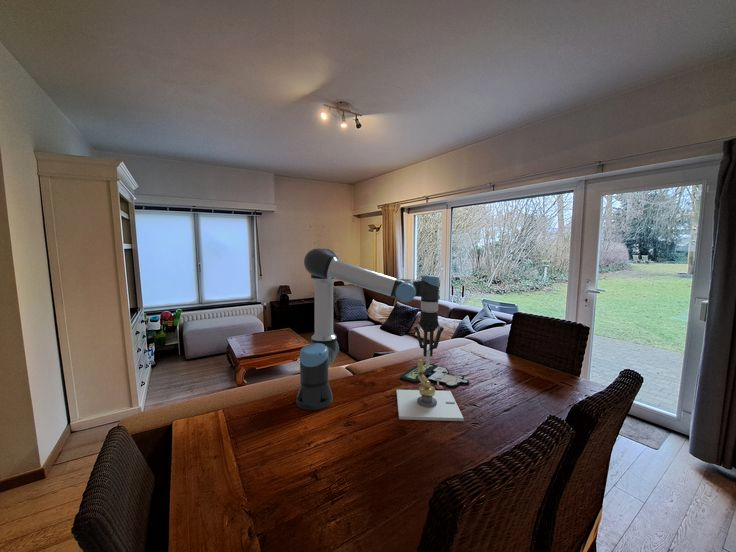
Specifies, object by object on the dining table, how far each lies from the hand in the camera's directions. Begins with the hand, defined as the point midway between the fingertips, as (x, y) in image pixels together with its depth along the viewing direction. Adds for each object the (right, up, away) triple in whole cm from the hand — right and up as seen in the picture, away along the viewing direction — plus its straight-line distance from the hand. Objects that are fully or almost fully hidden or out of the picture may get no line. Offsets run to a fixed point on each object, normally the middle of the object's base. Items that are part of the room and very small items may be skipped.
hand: (427, 363), depth 131 cm
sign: (+8, -14, +18) cm, 24 cm away
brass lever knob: (-3, -9, -6) cm, 11 cm away
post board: (-2, -15, -8) cm, 17 cm away
